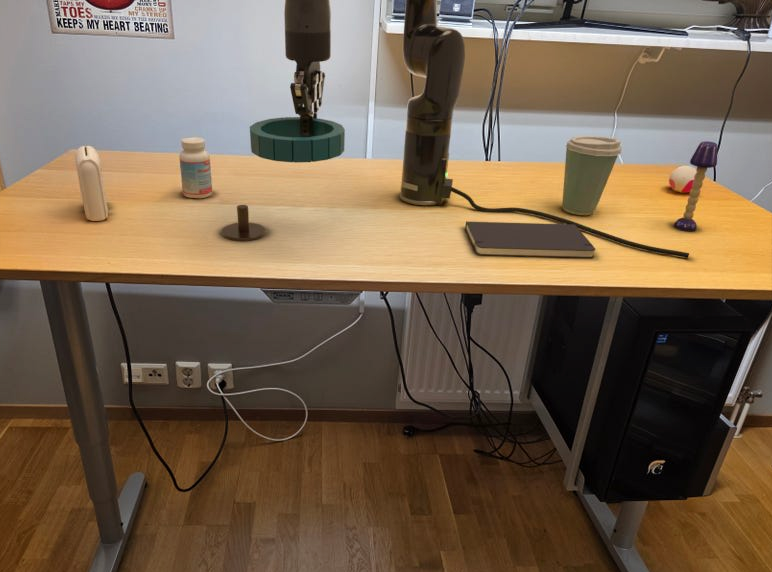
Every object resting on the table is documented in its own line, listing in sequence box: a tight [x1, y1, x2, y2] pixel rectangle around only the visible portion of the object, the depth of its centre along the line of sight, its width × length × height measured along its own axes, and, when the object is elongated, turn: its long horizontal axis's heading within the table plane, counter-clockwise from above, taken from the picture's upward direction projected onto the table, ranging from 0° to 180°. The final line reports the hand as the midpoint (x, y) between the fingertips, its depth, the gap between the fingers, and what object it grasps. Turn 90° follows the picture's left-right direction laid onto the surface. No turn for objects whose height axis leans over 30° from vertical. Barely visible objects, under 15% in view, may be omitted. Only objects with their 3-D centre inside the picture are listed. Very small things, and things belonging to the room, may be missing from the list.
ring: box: [249, 116, 346, 164], centre depth 110 cm, size 16×16×4 cm
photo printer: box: [74, 145, 109, 222], centre depth 123 cm, size 10×4×12 cm, turn 20°
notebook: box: [464, 221, 596, 259], centre depth 121 cm, size 13×2×21 cm
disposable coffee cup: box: [561, 135, 622, 216], centre depth 134 cm, size 11×11×15 cm
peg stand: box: [221, 204, 267, 242], centre depth 119 cm, size 8×8×5 cm
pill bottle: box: [178, 136, 213, 199], centre depth 135 cm, size 6×6×11 cm
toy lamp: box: [673, 140, 718, 232], centre depth 127 cm, size 5×5×17 cm
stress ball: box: [668, 165, 697, 194], centre depth 151 cm, size 8×8×7 cm
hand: (309, 135), depth 116 cm, fingers closed on ring, 2 cm apart
